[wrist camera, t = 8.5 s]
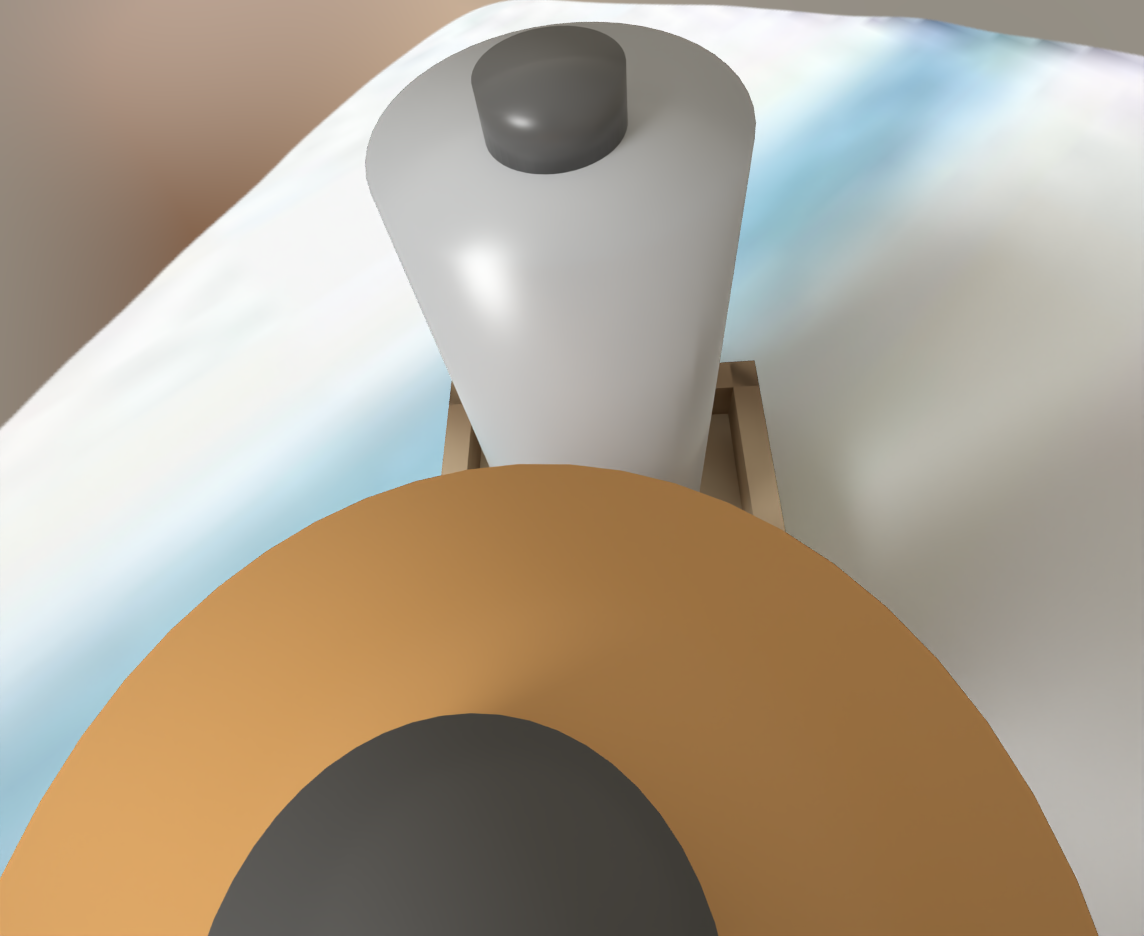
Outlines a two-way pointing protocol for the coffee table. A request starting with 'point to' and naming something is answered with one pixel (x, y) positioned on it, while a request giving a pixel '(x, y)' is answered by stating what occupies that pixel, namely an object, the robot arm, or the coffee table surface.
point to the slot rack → (732, 451)
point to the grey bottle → (573, 237)
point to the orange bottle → (540, 741)
